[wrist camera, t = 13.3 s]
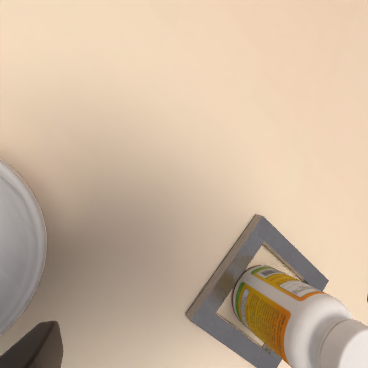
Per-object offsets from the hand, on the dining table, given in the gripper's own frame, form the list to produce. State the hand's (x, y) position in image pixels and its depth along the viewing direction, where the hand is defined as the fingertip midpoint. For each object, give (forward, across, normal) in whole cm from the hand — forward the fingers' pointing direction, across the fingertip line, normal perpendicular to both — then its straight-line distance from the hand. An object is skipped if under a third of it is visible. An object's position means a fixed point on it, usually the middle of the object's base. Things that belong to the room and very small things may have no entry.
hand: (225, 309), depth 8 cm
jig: (+14, -7, +10) cm, 19 cm away
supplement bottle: (+14, -7, +10) cm, 19 cm away
